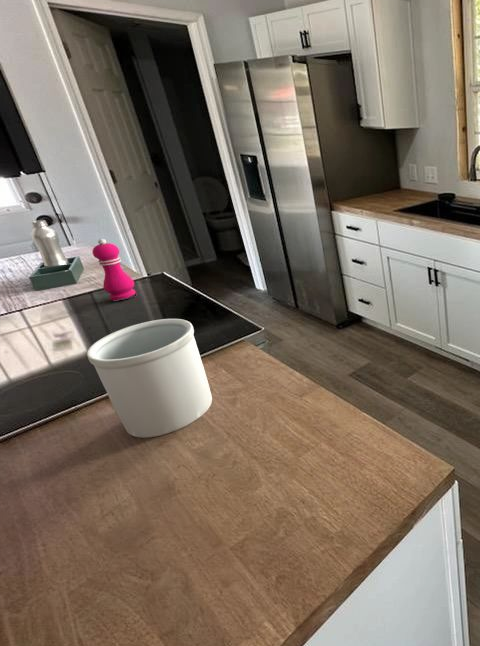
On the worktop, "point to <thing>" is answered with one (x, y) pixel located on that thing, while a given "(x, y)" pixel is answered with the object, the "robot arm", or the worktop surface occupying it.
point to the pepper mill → (113, 271)
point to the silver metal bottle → (47, 244)
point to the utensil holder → (153, 376)
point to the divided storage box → (57, 274)
